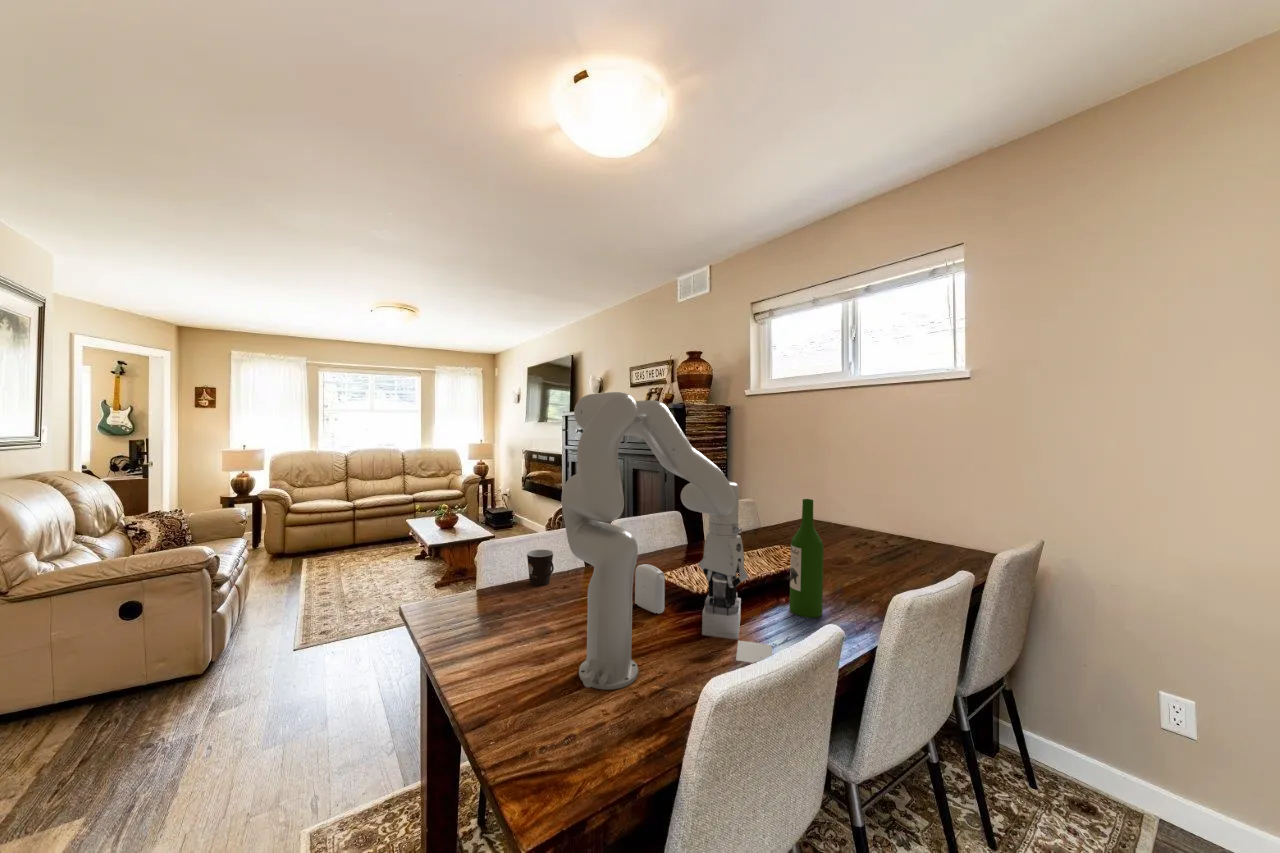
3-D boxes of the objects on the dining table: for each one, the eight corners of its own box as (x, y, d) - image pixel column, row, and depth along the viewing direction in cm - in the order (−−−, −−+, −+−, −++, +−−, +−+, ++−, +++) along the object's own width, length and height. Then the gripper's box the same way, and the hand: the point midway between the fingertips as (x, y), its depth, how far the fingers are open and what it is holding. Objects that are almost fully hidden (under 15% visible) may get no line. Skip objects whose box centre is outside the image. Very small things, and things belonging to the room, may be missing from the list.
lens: (736, 605, 120) (736, 573, 120) (724, 610, 117) (725, 578, 117) (719, 599, 124) (720, 568, 124) (707, 604, 120) (708, 573, 120)
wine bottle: (782, 607, 136) (785, 497, 136) (807, 604, 139) (809, 496, 139) (803, 619, 128) (806, 502, 128) (829, 615, 131) (831, 501, 131)
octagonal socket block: (738, 641, 114) (738, 607, 114) (701, 636, 117) (702, 603, 117) (740, 619, 127) (741, 589, 127) (707, 615, 129) (708, 586, 129)
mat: (772, 667, 102) (772, 665, 102) (735, 661, 104) (736, 660, 104) (771, 646, 112) (771, 644, 112) (738, 642, 114) (738, 640, 114)
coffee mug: (525, 579, 156) (526, 550, 156) (551, 577, 159) (551, 548, 159) (527, 591, 145) (528, 560, 145) (555, 589, 148) (556, 558, 148)
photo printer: (632, 604, 137) (633, 562, 137) (643, 601, 139) (644, 560, 139) (655, 615, 129) (656, 571, 129) (666, 612, 132) (667, 568, 131)
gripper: (759, 532, 117) (758, 604, 117) (705, 521, 129) (704, 586, 129) (743, 537, 112) (742, 612, 112) (688, 525, 124) (687, 593, 124)
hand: (721, 597), depth 120 cm, fingers closed on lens, 5 cm apart
